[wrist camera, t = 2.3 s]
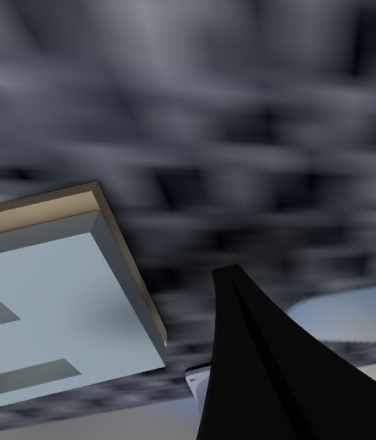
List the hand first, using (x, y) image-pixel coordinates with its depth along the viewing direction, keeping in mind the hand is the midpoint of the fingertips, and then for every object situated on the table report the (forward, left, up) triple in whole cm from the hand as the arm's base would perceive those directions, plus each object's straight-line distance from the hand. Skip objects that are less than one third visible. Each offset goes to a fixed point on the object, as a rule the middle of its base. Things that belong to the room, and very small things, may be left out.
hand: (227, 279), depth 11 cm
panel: (0, +12, 0) cm, 12 cm away
